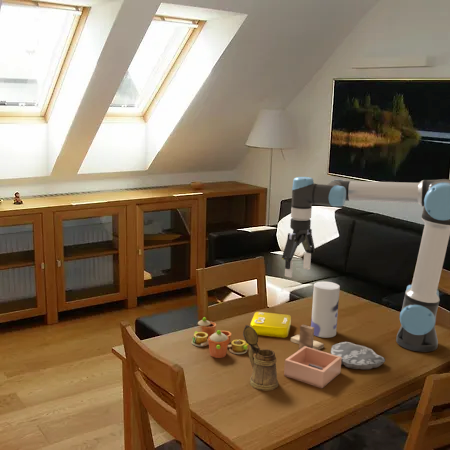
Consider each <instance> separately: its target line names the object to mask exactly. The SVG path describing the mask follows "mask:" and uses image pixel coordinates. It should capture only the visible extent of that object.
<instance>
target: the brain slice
mask: <svg viewBox="0 0 450 450" xmlns="http://www.w3.org/2000/svg"><path fill="white" fill-rule="evenodd" d="M330 354H333V355H336V356H340V357H342V360H341V365H344V367H346V368H349V369H353V370H372V369H373V368H379V367H380V366H382V365H383V364H385V362H386V358H385V357H383V356H382V355H379V354H377V353H376V352H375V351H374V350H373V349H372V348H370V347H367V346H365V345H360V344H355V343H354V342H350V341H341V342H339V343H335V344H333V345H332V344H331V348H330Z"/></svg>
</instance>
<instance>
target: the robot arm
mask: <svg viewBox="0 0 450 450" xmlns="http://www.w3.org/2000/svg"><path fill="white" fill-rule="evenodd" d="M291 188H292V189H291V208H290V210H291V211H290V217H291V219H290V229H292V233H291V232H290V233H287V238H286V242H285V246H284V249H283V253H282V256H281V259H282V260H284V261H285V263H284V277H287V278H290V279H291V278H293V267H294V266H293V265H294V263H293V262H294V260H293V257H294V255H295V253H296V250H297V248H298V246H300V244H301V245H302V247H303V248H304V251H305V252H303V264H302V269H303V270H308V271H309V270H311V261H312V260H311V259H312V254H314V253H315V244H314V240H313V239H314V238H313V232H312V230H313V229H312V228H311V224H312V223H311V222H312V220H311V218H312V208H313V206H312V205H321V206H330V207H333V208H334V207H343V206H344V205H345V203H346V202H370V203H371V202H375V203H397V204H418V205H419V206H420V207H423V209H422V214H421V220H422V221H423V223H424V226H423V230H422V236H421V240H420V245H419V250H418V254H417V260H416V264H415V268H414V272H413V278H412V282H411V284H408V285H407V286H406V290H405V293H404V297H403V298H404V299H403V302H402V308H401V311H400V312H399V321H400V327H399V329H398V331H397V334H396V338H395V339H396V340H395V341H396V343H397V345H398V346H400V347H401V348H404V349H406V350H409V351H414V352H419V353H420V352H421V353H427V352H434V351H436V350H437V349H438V346H439V340H438V335H437V331H436V322H437V312H438V310H439V309H438V308H439V305H440V301H441V300H440V294H439V293H440V292H439V289H438V288H439V282H440V279H441V275H442V270H443V266H444V263H445V258H446V253H447V247H448V244H449V240H450V179H448V178H447V179H446V178H442V179H423V180H421V181H419V182H405V181H404V182H399V181H396V182H395V181H362V180H361V181H359V180H357V181H355V180H343V179H334V180H332V181H331V182H329V183H328V184H320V183H315V182H314V178H313V177H308V176H296V177H294V178H293V181H292V187H291Z"/></svg>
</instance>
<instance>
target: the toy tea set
mask: <svg viewBox="0 0 450 450" xmlns="http://www.w3.org/2000/svg"><path fill="white" fill-rule="evenodd" d="M197 325H198V326H200V327H201V331H194V333H193V337H192V339H191V344H192V345H193V346H194V347H195V346H196V347H206V346H208V348H209V355H210V357H212V358H216V359H221V358H225V357H226V356H227V352H228V350H229V352H230V353H231V354H234V355H243V354H246V353H247V352H248V346H249V344H248V343H247V342H246V341H245V339H233V340H232V339H231V338H232V332H231V331H229V330H220V329H219V330H218V329H217V331H216V327H217V323H216V322H213V321H209V320H207V318H206V317H205V316H204V317H203V318H202V319H201V320H199V321H198V322H197ZM231 340H232V341H231ZM228 348H229V349H228Z"/></svg>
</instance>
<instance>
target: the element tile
mask: <svg viewBox="0 0 450 450" xmlns="http://www.w3.org/2000/svg"><path fill="white" fill-rule="evenodd" d="M291 322H292V316H291V315H290V314H282V313H274V312H265V311H256V312H254V313H253V317H252V318H251V321H250V325H249V326H251V327H252V328H254V330H255V331H256V333H257V335H258V336H264V337H274V338H275V337H276V338H283V339H285V338H287V337H289V333H290V329H291Z"/></svg>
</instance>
